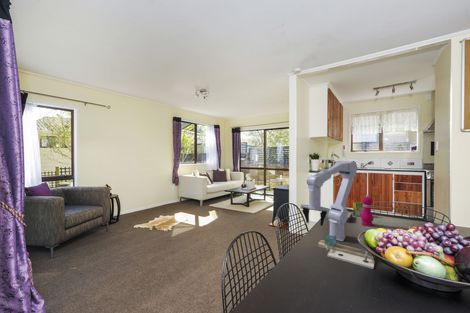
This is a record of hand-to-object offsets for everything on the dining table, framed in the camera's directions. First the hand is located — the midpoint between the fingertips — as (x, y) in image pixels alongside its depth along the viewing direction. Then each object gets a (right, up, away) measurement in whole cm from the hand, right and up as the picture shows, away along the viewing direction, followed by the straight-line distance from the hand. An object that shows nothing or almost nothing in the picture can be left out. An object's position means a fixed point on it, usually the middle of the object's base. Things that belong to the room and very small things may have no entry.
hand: (314, 223), depth 113 cm
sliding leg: (+5, -9, -7) cm, 12 cm away
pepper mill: (+46, -10, +29) cm, 55 cm away
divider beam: (+10, -11, -10) cm, 18 cm away
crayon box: (+52, -9, +49) cm, 72 cm away
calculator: (+36, -10, +42) cm, 56 cm away
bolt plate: (+10, -11, -16) cm, 22 cm away
